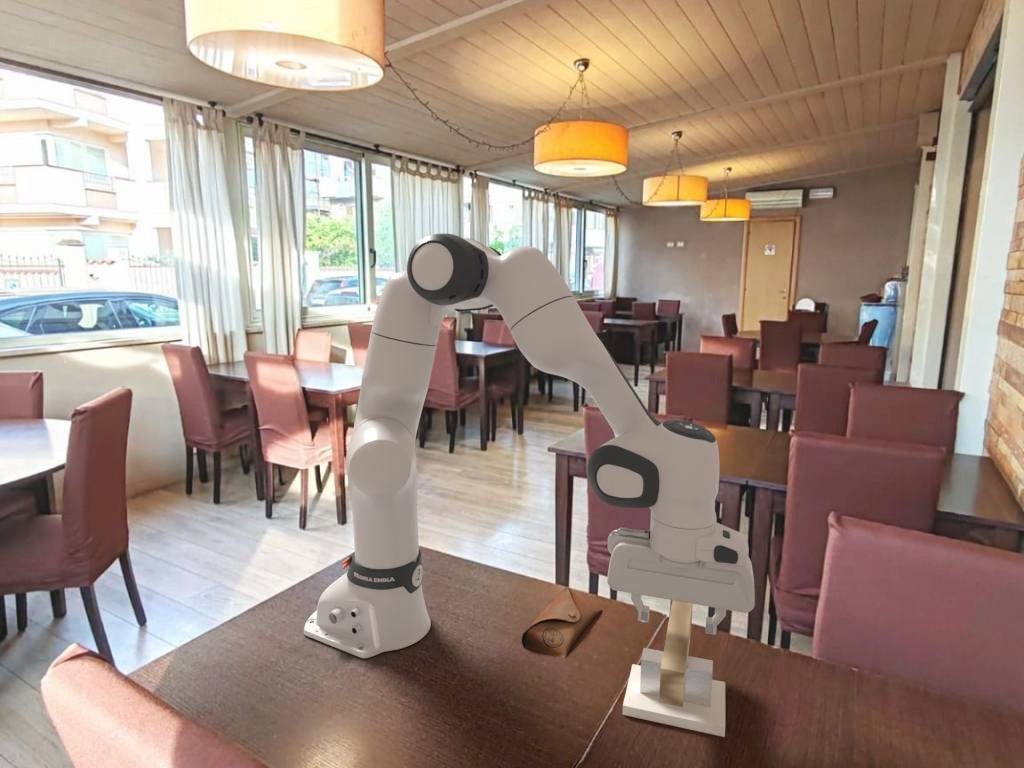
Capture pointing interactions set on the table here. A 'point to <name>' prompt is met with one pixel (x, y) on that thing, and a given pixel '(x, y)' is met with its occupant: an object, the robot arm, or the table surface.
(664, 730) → the table surface
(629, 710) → the ridge stand
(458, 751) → the table surface
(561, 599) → the sunglasses case
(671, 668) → the oak rod
